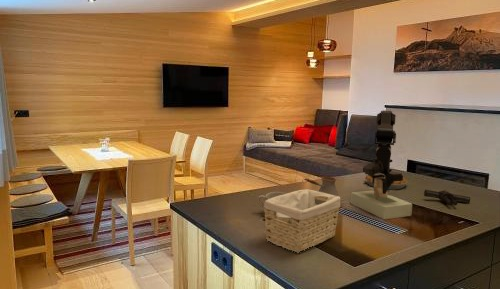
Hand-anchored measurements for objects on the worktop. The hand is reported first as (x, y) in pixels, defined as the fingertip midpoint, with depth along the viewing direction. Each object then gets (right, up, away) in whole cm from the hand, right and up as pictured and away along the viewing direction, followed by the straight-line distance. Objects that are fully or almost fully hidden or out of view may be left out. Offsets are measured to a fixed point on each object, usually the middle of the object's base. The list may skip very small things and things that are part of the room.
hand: (380, 192), depth 157 cm
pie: (+18, -2, +43) cm, 47 cm away
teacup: (-46, -8, -7) cm, 48 cm away
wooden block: (0, -2, 0) cm, 2 cm away
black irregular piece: (+35, -7, +9) cm, 37 cm away
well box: (0, -7, +1) cm, 7 cm away
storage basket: (-39, -12, -32) cm, 52 cm away
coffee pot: (-26, -7, 0) cm, 27 cm away
